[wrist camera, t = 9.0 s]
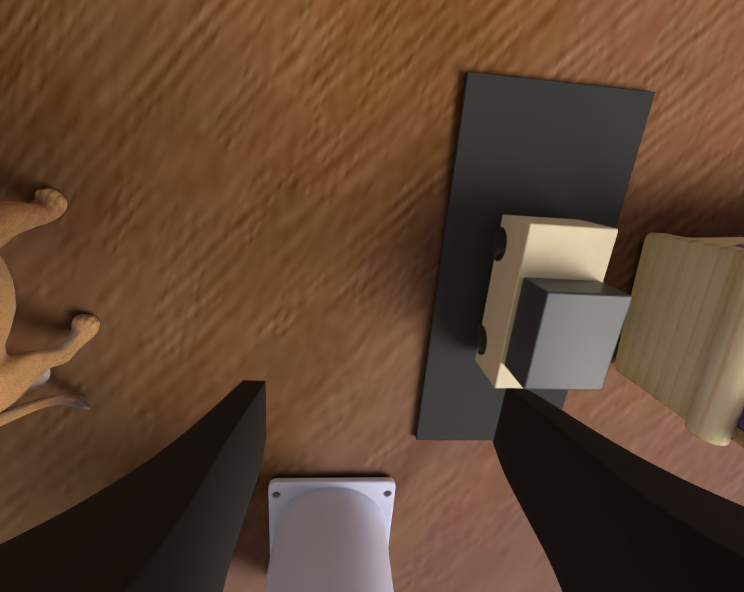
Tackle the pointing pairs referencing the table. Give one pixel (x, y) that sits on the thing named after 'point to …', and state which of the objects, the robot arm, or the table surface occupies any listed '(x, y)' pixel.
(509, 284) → the toy car
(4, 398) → the lion figurine
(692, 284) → the toy sofa
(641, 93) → the mat
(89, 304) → the table surface
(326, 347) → the table surface
